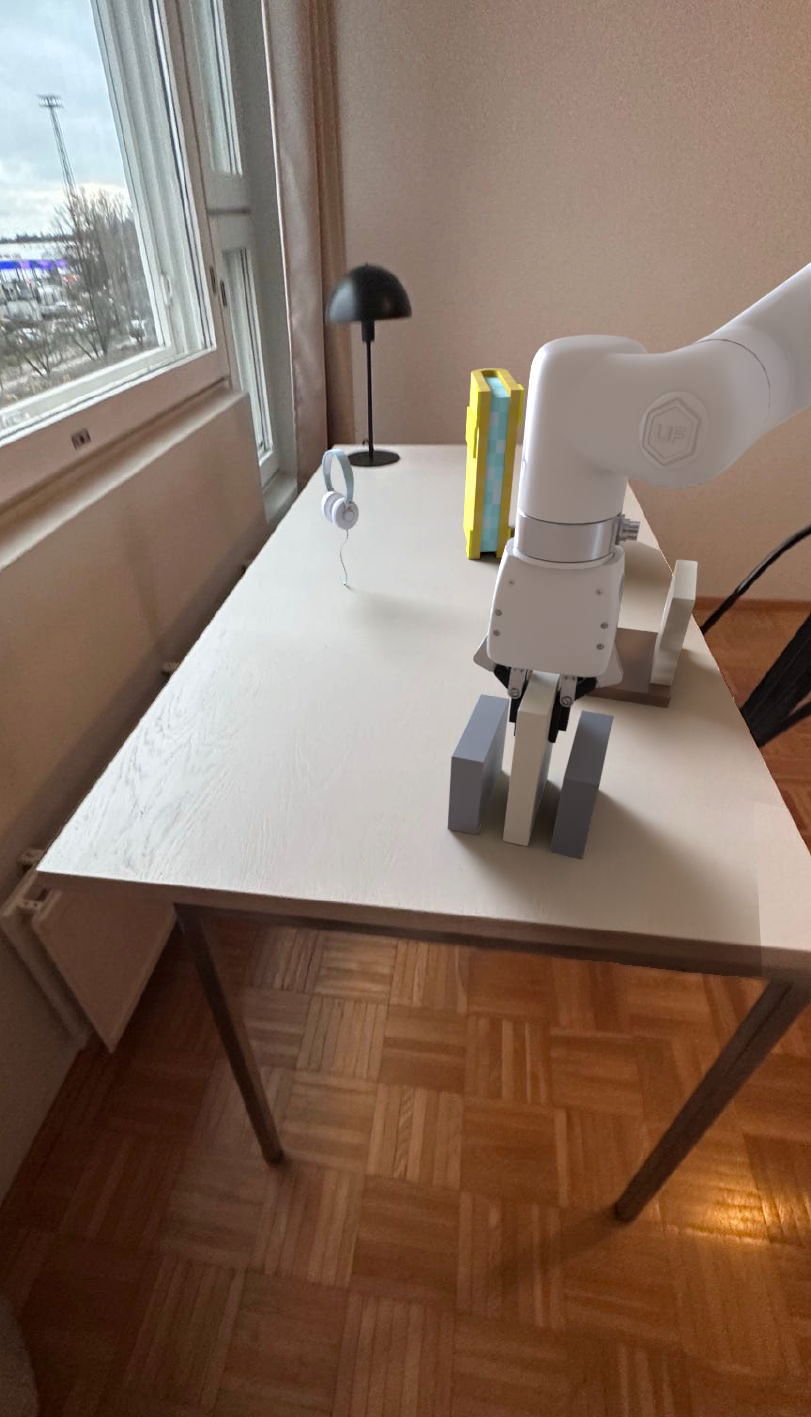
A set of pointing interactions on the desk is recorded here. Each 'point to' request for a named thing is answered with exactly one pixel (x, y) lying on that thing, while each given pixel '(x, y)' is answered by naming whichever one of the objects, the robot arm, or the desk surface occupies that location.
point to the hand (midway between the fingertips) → (537, 730)
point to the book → (490, 459)
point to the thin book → (530, 756)
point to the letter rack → (654, 646)
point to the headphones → (339, 495)
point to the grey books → (482, 765)
